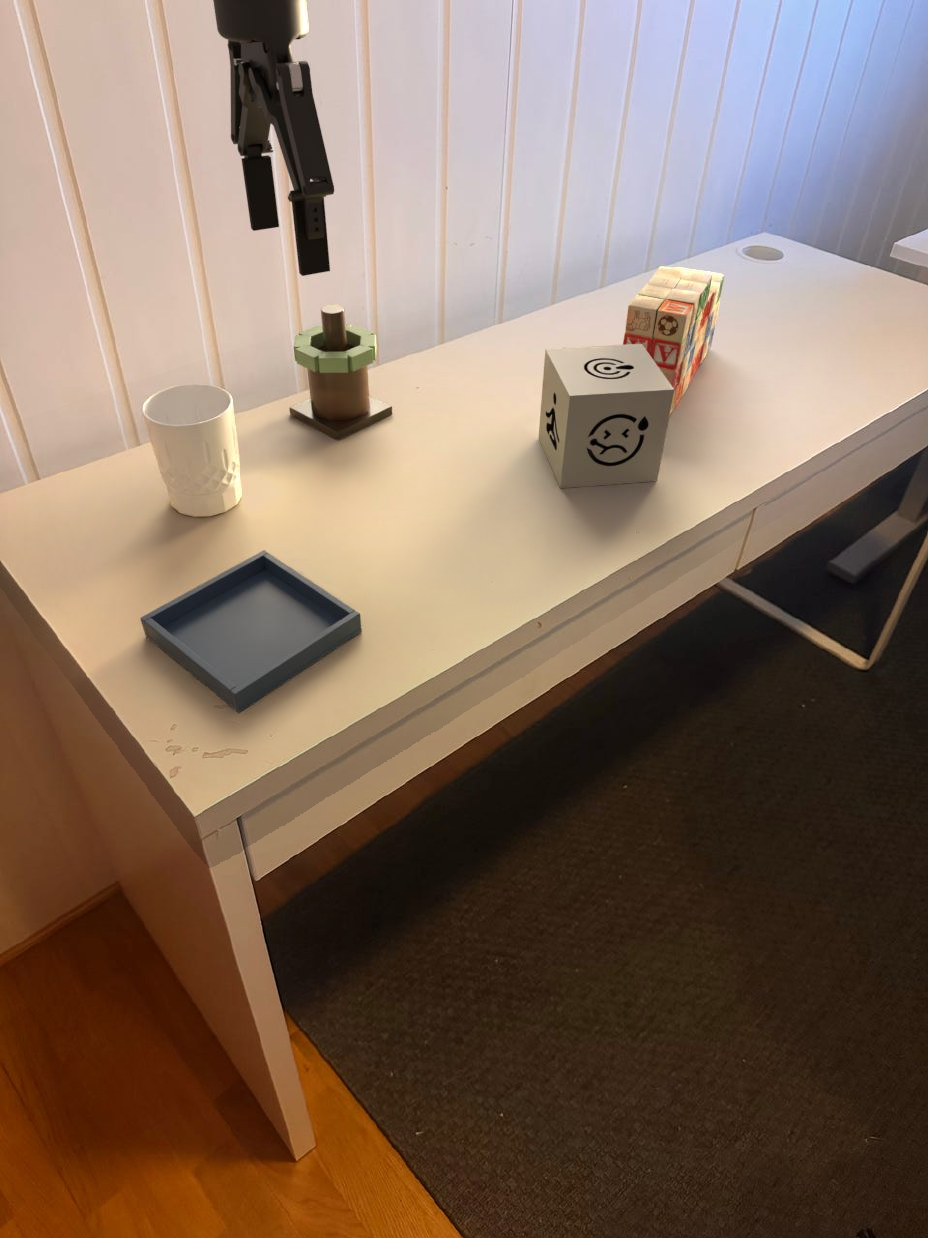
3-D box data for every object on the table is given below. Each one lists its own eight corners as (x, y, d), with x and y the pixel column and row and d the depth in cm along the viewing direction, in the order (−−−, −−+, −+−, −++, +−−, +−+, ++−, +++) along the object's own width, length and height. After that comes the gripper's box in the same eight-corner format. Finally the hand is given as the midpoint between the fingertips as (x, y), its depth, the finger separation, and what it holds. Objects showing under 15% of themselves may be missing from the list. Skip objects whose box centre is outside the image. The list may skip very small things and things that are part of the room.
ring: (279, 355, 94) (277, 340, 93) (339, 331, 99) (338, 317, 98) (332, 380, 90) (331, 365, 89) (392, 354, 95) (392, 340, 94)
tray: (145, 636, 71) (139, 617, 70) (267, 568, 78) (263, 549, 77) (239, 713, 65) (234, 694, 64) (362, 632, 72) (360, 613, 71)
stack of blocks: (663, 338, 115) (680, 239, 107) (711, 347, 113) (732, 248, 105) (613, 410, 101) (627, 302, 93) (667, 422, 99) (687, 313, 91)
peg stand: (290, 415, 99) (276, 308, 91) (344, 390, 103) (335, 287, 95) (338, 440, 95) (328, 331, 87) (392, 414, 99) (388, 308, 91)
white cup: (162, 482, 88) (139, 389, 82) (243, 470, 90) (227, 378, 83) (167, 527, 83) (143, 431, 76) (253, 513, 84) (237, 418, 78)
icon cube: (628, 431, 97) (641, 343, 91) (657, 480, 90) (674, 389, 83) (538, 437, 96) (545, 348, 89) (560, 488, 88) (569, 395, 82)
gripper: (363, -4, 65) (378, 286, 79) (252, -39, 82) (281, 206, 96) (264, 2, 62) (298, 301, 77) (170, -36, 79) (212, 216, 93)
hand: (288, 249), depth 86 cm, fingers open, 13 cm apart
